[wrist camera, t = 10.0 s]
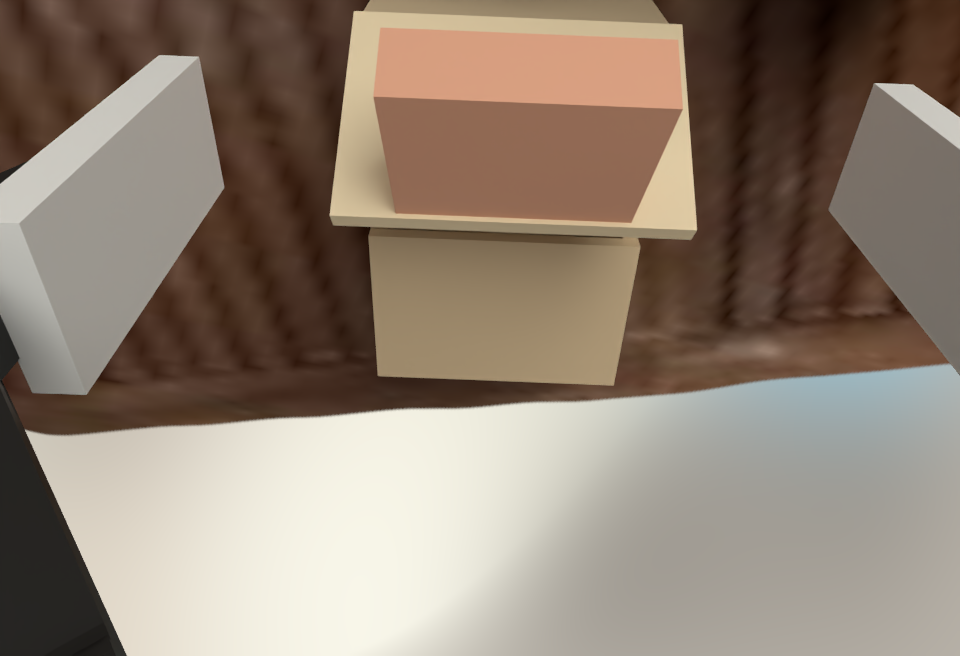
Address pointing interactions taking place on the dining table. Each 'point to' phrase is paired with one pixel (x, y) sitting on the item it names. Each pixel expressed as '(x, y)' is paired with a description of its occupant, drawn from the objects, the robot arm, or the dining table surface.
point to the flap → (515, 127)
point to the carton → (503, 269)
